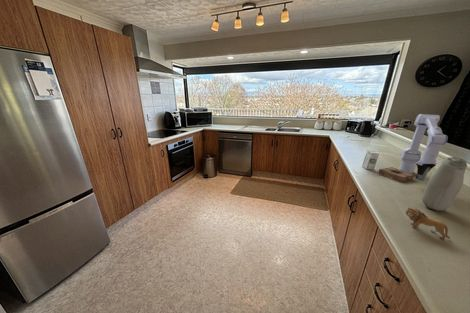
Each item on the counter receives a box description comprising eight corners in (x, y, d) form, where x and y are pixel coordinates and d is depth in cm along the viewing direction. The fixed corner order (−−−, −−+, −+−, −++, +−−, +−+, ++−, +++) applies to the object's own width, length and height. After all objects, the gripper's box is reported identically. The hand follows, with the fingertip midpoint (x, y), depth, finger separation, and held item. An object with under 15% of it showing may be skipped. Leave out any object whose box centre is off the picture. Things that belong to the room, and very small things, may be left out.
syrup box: (369, 167, 140) (374, 150, 135) (373, 170, 134) (379, 152, 129) (361, 166, 140) (366, 150, 135) (366, 169, 135) (371, 152, 130)
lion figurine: (401, 225, 76) (408, 209, 73) (400, 219, 80) (407, 203, 77) (451, 243, 68) (462, 225, 64) (447, 235, 71) (457, 217, 68)
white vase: (451, 216, 83) (480, 163, 73) (422, 209, 88) (446, 158, 78) (442, 206, 91) (467, 157, 81) (415, 200, 96) (437, 153, 86)
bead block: (390, 171, 133) (391, 167, 132) (412, 179, 121) (414, 174, 119) (378, 173, 129) (379, 169, 127) (400, 181, 116) (401, 177, 115)
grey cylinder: (417, 177, 112) (423, 164, 109) (425, 180, 108) (431, 167, 105) (413, 178, 111) (419, 165, 108) (421, 180, 107) (427, 167, 104)
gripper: (432, 157, 98) (423, 178, 103) (446, 155, 102) (436, 175, 107) (417, 153, 104) (408, 173, 109) (430, 151, 109) (422, 170, 113)
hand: (421, 174), depth 108 cm, fingers closed on grey cylinder, 4 cm apart
